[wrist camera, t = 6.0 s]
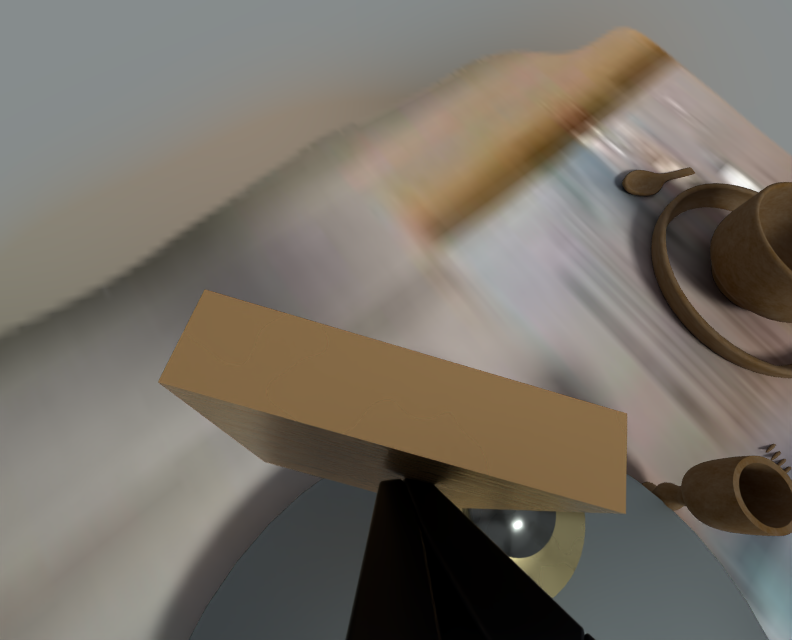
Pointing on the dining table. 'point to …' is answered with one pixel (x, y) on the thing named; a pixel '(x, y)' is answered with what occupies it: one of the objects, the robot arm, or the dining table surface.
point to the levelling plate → (581, 598)
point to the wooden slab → (407, 426)
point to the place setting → (752, 290)
